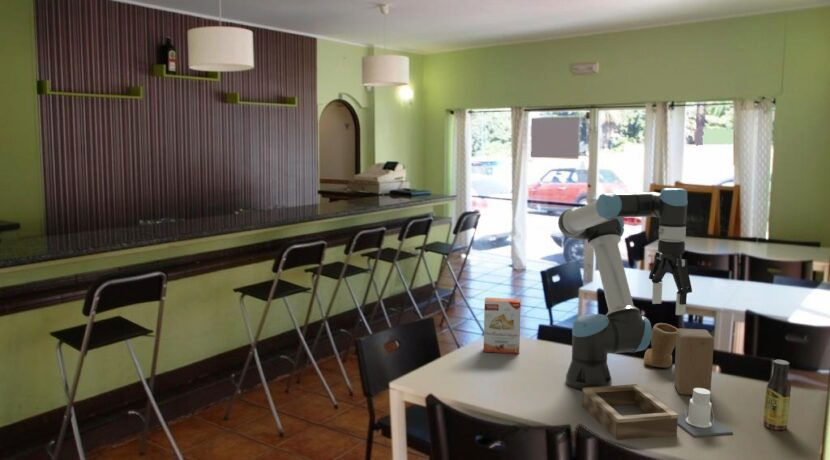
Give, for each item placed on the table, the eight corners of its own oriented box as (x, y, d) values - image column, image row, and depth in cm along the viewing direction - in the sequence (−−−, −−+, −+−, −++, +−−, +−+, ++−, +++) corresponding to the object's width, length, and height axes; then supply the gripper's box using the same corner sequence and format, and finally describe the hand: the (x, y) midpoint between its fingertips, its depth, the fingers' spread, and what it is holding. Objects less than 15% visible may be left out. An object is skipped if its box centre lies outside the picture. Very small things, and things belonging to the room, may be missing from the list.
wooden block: (711, 397, 219) (714, 337, 216) (678, 395, 221) (681, 335, 218) (704, 386, 229) (707, 328, 226) (673, 384, 231) (676, 327, 228)
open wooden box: (582, 406, 212) (582, 387, 211) (635, 402, 215) (636, 384, 214) (617, 439, 189) (618, 419, 188) (676, 434, 192) (677, 414, 191)
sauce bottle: (758, 422, 200) (763, 357, 197) (778, 421, 200) (783, 357, 198) (771, 432, 193) (776, 365, 191) (792, 431, 194) (797, 364, 191)
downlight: (683, 425, 196) (687, 392, 195) (683, 416, 203) (687, 384, 201) (713, 430, 194) (717, 397, 192) (712, 421, 200) (716, 389, 198)
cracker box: (483, 352, 265) (483, 300, 262) (484, 348, 271) (484, 296, 268) (519, 354, 262) (520, 301, 259) (519, 349, 268) (520, 298, 265)
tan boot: (676, 372, 243) (678, 331, 240) (641, 367, 247) (643, 327, 245) (678, 359, 256) (680, 320, 254) (645, 355, 261) (647, 317, 259)
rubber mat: (667, 416, 204) (667, 414, 204) (703, 413, 206) (704, 412, 206) (693, 436, 190) (693, 434, 190) (732, 433, 192) (732, 431, 192)
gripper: (639, 234, 214) (636, 299, 217) (683, 246, 190) (679, 320, 193) (661, 233, 216) (658, 298, 219) (707, 246, 191) (703, 319, 194)
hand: (668, 309), depth 206 cm, fingers open, 13 cm apart
